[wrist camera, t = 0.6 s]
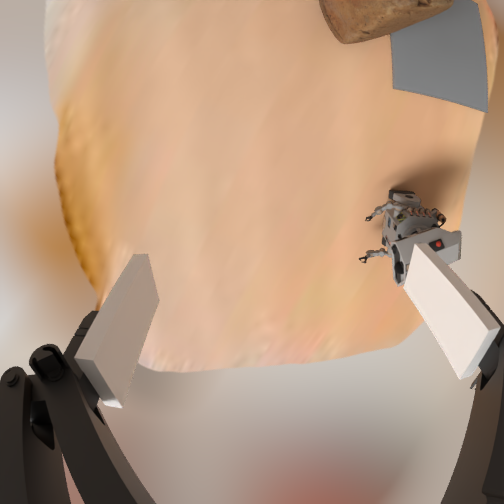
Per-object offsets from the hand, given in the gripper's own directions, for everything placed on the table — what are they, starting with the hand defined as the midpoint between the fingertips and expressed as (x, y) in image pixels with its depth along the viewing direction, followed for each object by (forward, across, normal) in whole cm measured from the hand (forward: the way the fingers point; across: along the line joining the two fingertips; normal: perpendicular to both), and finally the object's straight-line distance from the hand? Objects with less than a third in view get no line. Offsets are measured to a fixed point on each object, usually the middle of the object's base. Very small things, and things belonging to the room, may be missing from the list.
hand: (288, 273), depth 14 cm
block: (+29, +12, +22) cm, 38 cm away
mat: (+29, +29, +22) cm, 47 cm away
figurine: (+28, +19, -9) cm, 35 cm away
